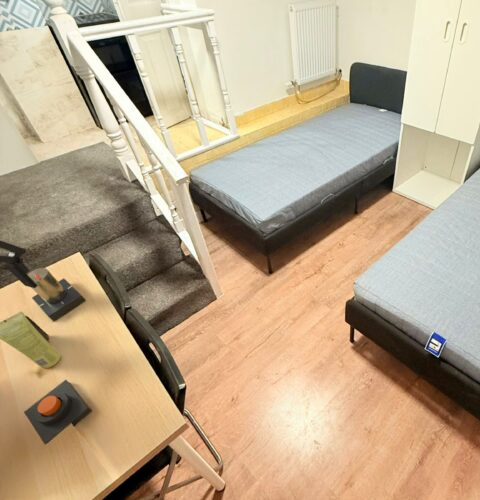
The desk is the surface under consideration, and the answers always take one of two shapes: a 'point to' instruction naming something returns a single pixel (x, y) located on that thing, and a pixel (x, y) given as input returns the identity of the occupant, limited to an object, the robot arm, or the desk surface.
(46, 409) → the button
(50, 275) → the dial
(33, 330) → the tube
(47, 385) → the desk surface
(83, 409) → the dark grey base plate
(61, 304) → the dial panel
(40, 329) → the battery charger
